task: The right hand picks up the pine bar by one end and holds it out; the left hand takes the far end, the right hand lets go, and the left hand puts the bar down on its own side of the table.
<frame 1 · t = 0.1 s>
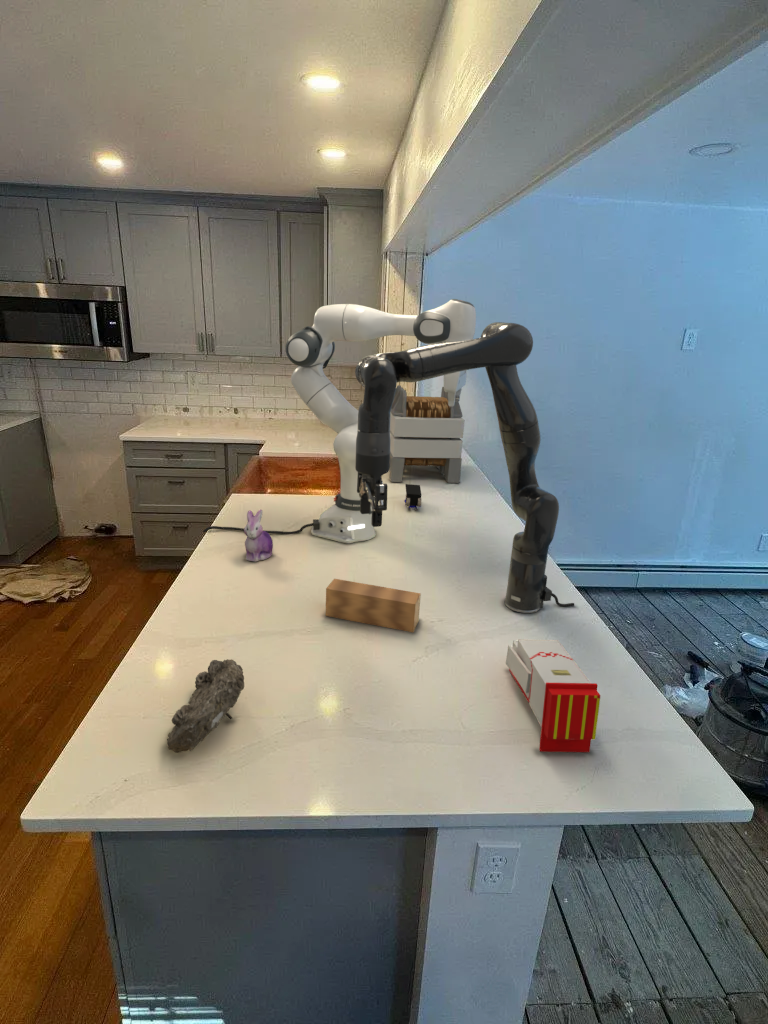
left hand: (453, 403, 174), 48 cm above the counter, tool pointing down, fingers open, 8 cm apart
right hand: (370, 519, 130), 29 cm above the counter, tool pointing down, fingers open, 8 cm apart
figurine character: (412, 506, 228), on the counter
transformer: (419, 473, 275), on the counter
bar: (372, 618, 145), on the counter
figurine: (259, 556, 177), on the counter
toy: (542, 703, 116), on the counter
fossil: (212, 717, 108), on the counter
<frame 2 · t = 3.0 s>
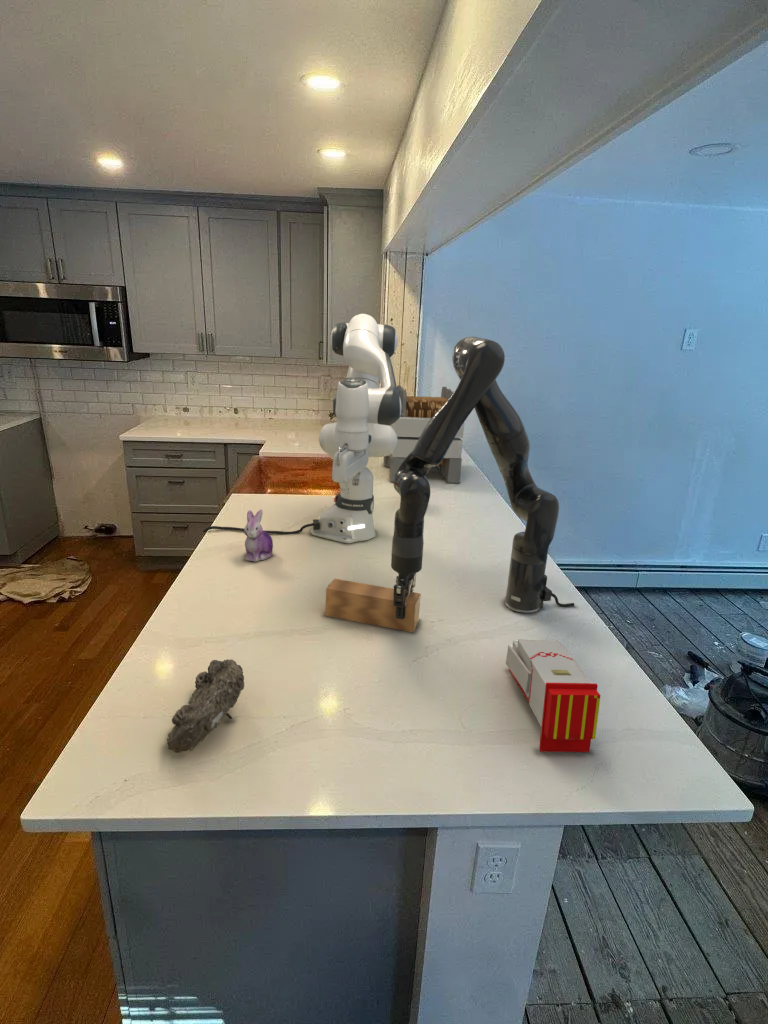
left hand: (350, 489, 157), 27 cm above the counter, tool pointing down, fingers open, 8 cm apart
right hand: (403, 611, 142), 4 cm above the counter, tool pointing down, fingers closed on bar, 6 cm apart
bar: (372, 618, 145), on the counter, touching right hand
everything else where it was.
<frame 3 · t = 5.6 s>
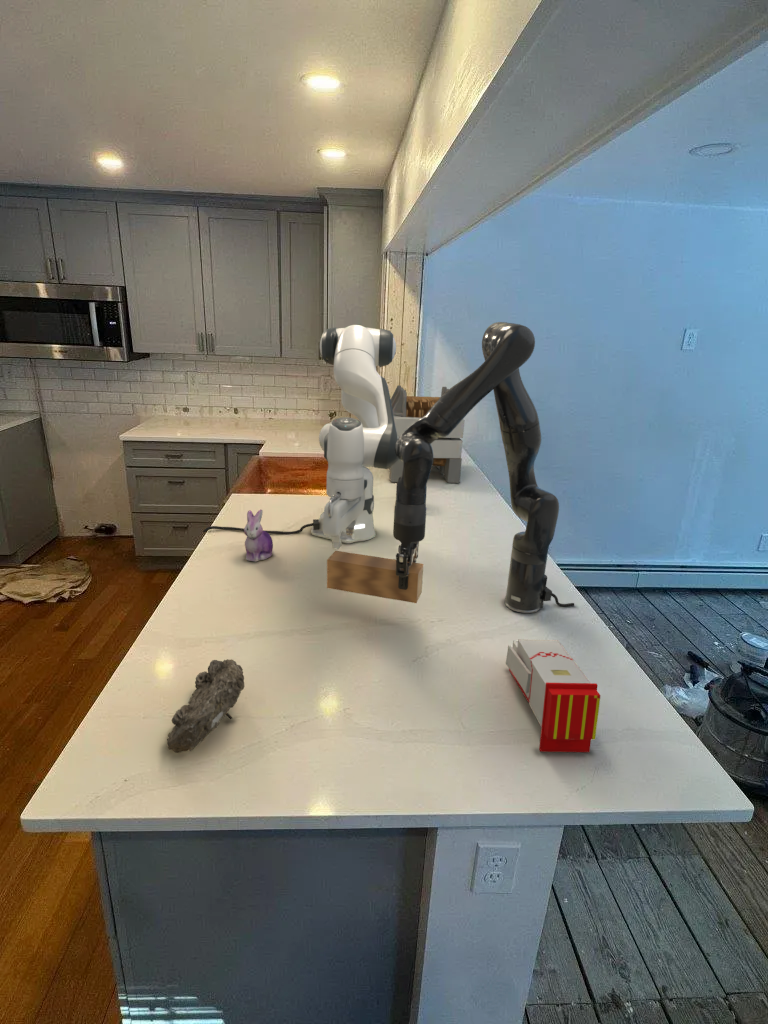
left hand: (343, 540, 140), 20 cm above the counter, tool pointing down, fingers open, 8 cm apart
right hand: (406, 582, 139), 12 cm above the counter, tool pointing down, fingers closed on bar, 6 cm apart
bar: (374, 590, 142), point 8 cm above the counter, touching right hand
everything else where it was.
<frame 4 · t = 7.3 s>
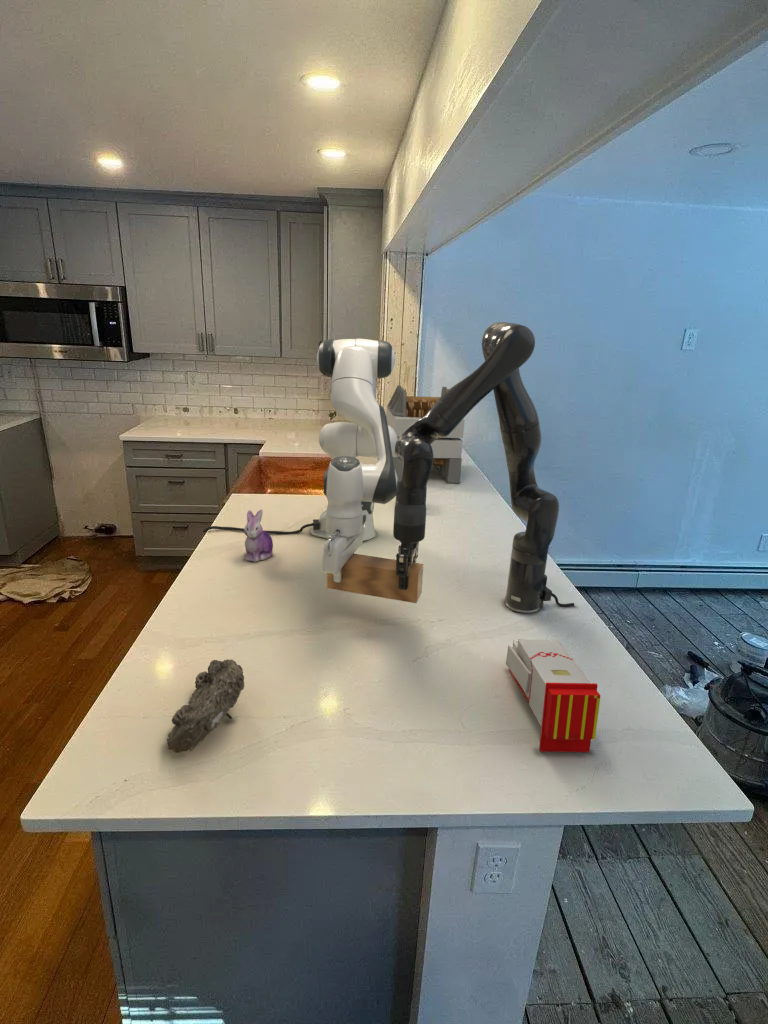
left hand: (343, 574, 143), 11 cm above the counter, tool pointing down, fingers closed on bar, 6 cm apart
right hand: (406, 582, 139), 12 cm above the counter, tool pointing down, fingers closed on bar, 6 cm apart
bar: (374, 590, 142), point 8 cm above the counter, touching left hand, right hand
everything else where it was.
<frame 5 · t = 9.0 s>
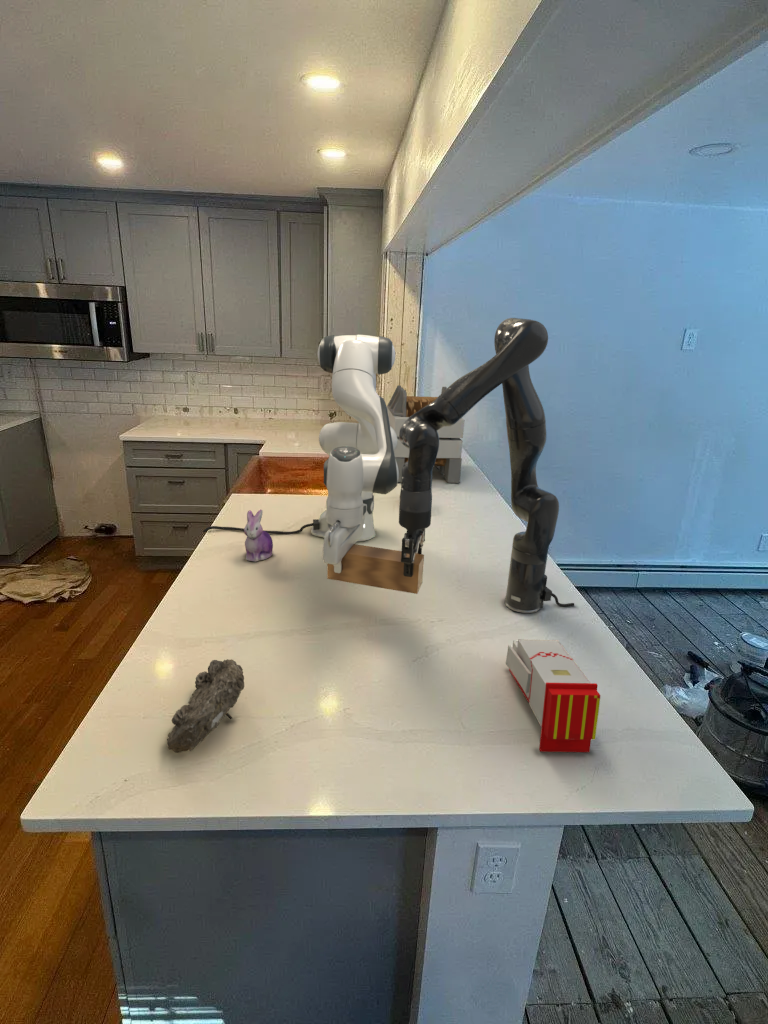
left hand: (343, 565, 143), 13 cm above the counter, tool pointing down, fingers closed on bar, 6 cm apart
right hand: (412, 568, 138), 16 cm above the counter, tool pointing down, fingers open, 8 cm apart
bar: (374, 580, 142), point 10 cm above the counter, touching left hand
everything else where it was.
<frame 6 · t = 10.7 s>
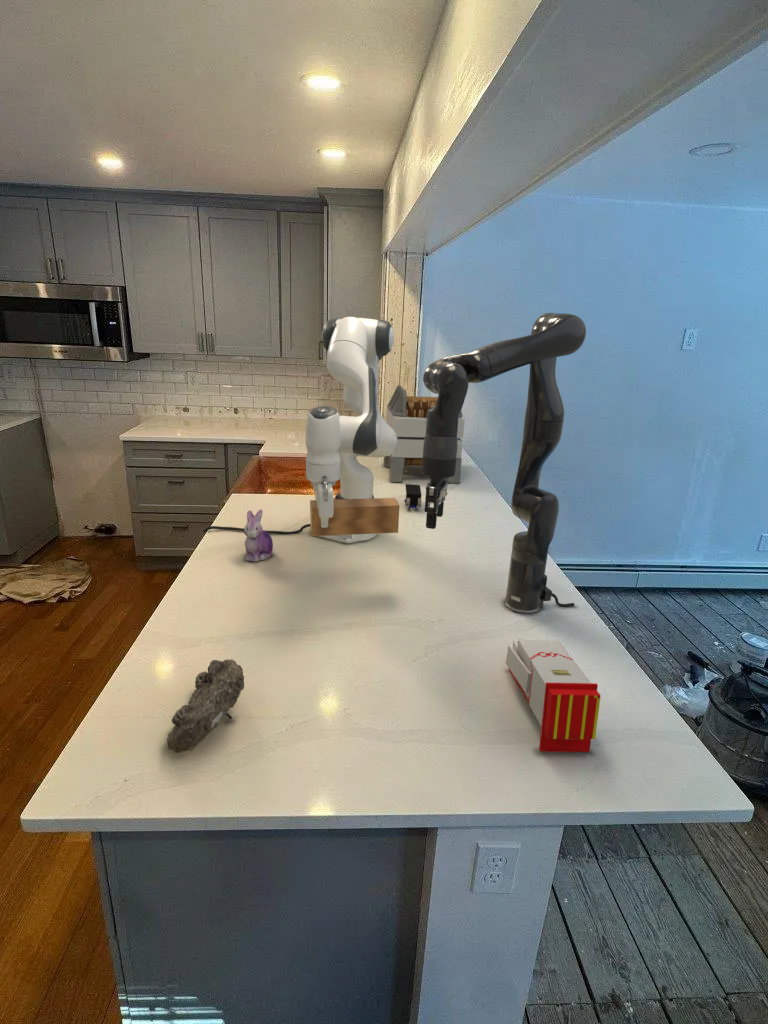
left hand: (323, 521, 151), 21 cm above the counter, tool pointing down, fingers closed on bar, 6 cm apart
right hand: (434, 521, 132), 28 cm above the counter, tool pointing down, fingers open, 8 cm apart
bar: (354, 530, 153), point 18 cm above the counter, touching left hand
everything else where it was.
when the left hand's fingers open (4 cm above the counter, at t = 14.1 s): bar stays where it is, on the counter.
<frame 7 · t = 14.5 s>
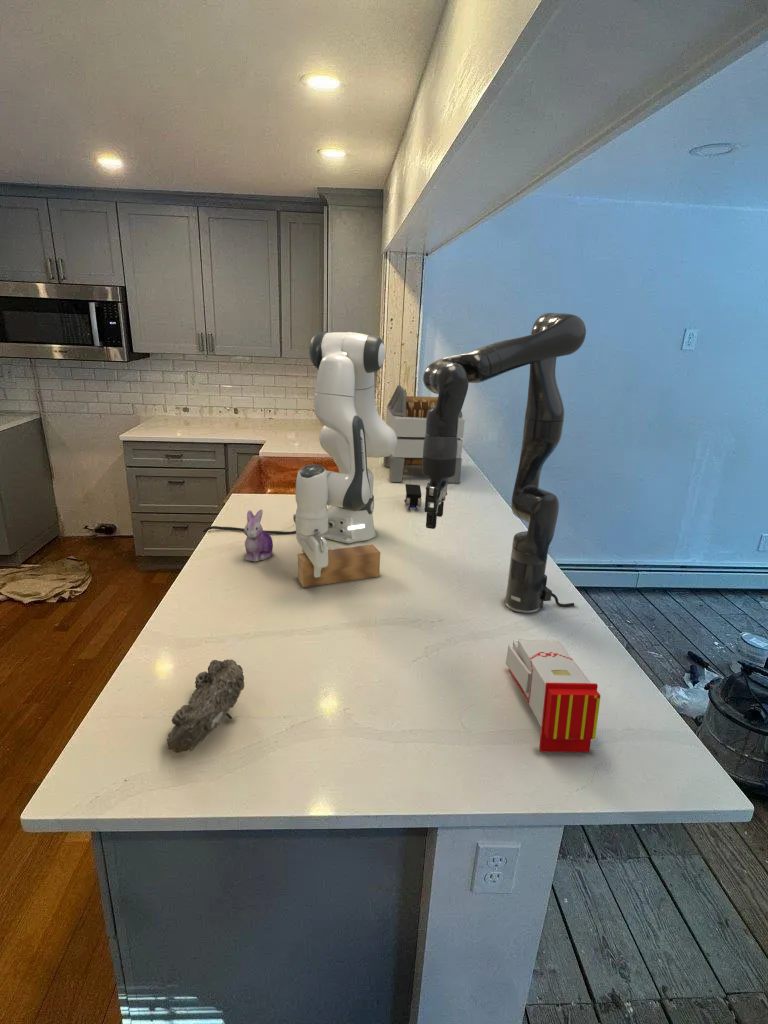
left hand: (311, 569, 162), 4 cm above the counter, tool pointing down, fingers open, 8 cm apart
right hand: (434, 521, 132), 28 cm above the counter, tool pointing down, fingers open, 8 cm apart
bar: (338, 577, 166), on the counter
everything else where it was.
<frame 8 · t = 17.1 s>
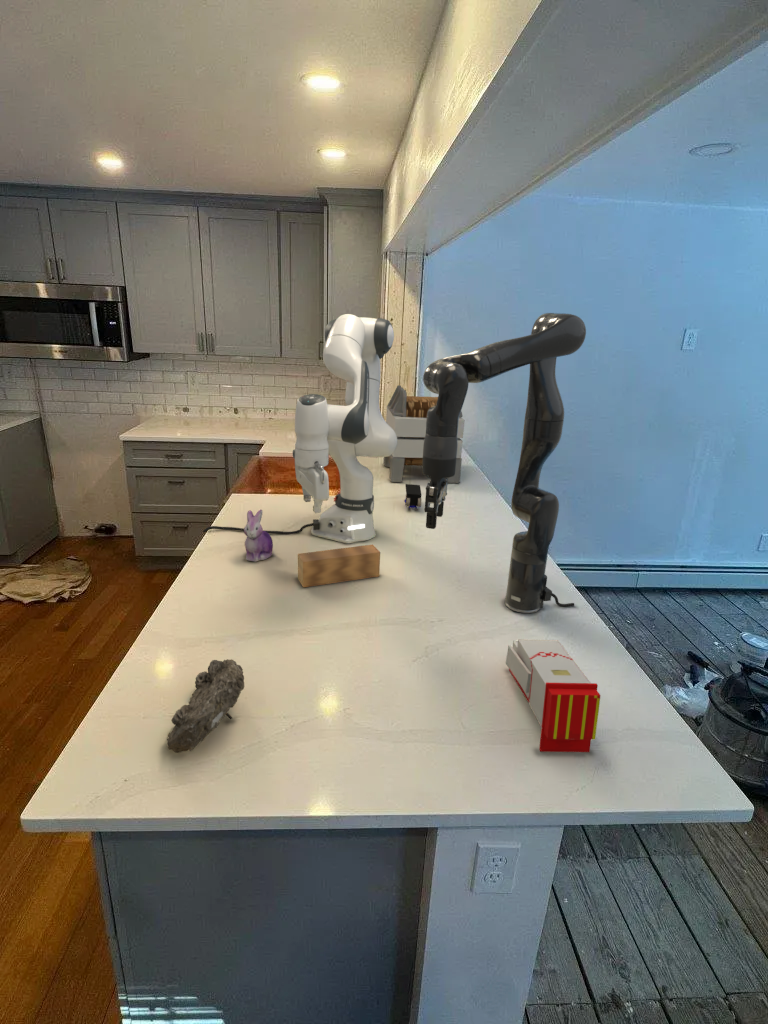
left hand: (311, 506, 155), 23 cm above the counter, tool pointing down, fingers open, 8 cm apart
right hand: (434, 521, 132), 28 cm above the counter, tool pointing down, fingers open, 8 cm apart
nothing on the counter moved.
at the end: bar inside the target area (8.1 cm from its centre), on the counter; the left hand is holding nothing; the right hand is holding nothing; bar at rest at the end (0.0 cm/s) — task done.
